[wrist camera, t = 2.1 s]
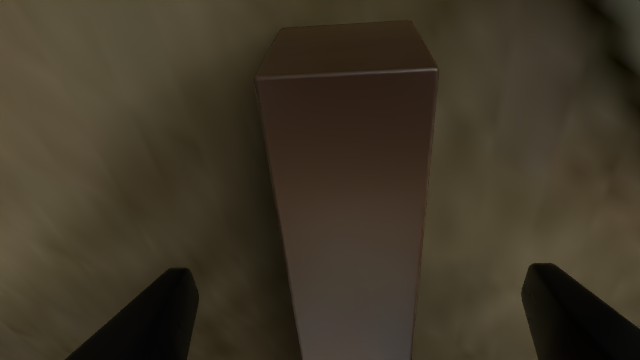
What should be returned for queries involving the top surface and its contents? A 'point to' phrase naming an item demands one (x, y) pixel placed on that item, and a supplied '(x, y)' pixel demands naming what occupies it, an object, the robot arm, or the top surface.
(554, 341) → the robot arm
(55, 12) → the top surface
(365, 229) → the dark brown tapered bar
